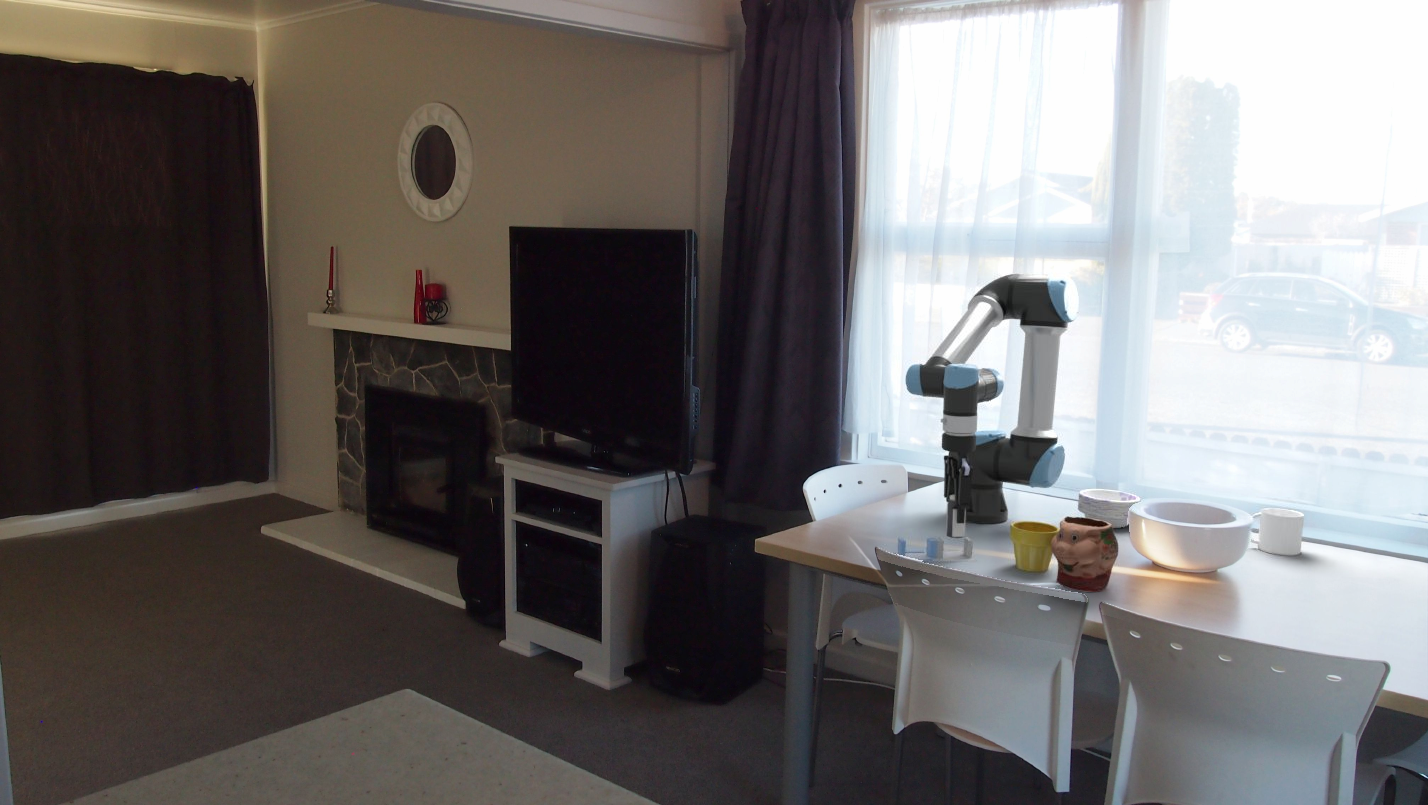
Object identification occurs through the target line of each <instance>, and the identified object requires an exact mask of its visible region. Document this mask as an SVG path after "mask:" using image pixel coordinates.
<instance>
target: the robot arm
mask: <svg viewBox="0 0 1428 805" xmlns="http://www.w3.org/2000/svg"><path fill="white" fill-rule="evenodd" d="M1078 313H1079V293H1078V291H1077V287H1076V284H1075V282H1074V281H1073V279H1071V277H1069V276H1067V275H1061V274H1060V275H1059V274H1053V273H1052V274H1033V273H1032V274H1029V273H1028V274H1026V273H1025V274H1024V273H1022V274H1019V273H1013V274H1012V273H1011V274H1006V275H1003V276H1000V277H997V279H996V278H995V279H994V280H992V281H991V282H988V284H986V285H985V286H983V287H982V288H981V289H980V290H978V291H977V292H976V293H975V294H974V295H973V296H972V297H971V299H970V300H969V302H968V304H967V311H966V312H965V313H964V314H963V316H962V317H961V318H960V319H959V321H958V322H957V323H955V324H956V325H954V327H953V328H952V329H951V331H950V332H949V333H948V335H947V336H946V337H945V338H944V340H943V341H942V342H941V343H940V345H938V347H937V348H936V350H935V351H934V352H933V353H932V355H930V357H929V358H928V360H927V361H926V362H925V363H924V364H922V363H919V364H912V365H911V366H909V368H908V369H907V371H906V374H905V385H906V390H907V392H909V393H910V394H912V395H914V396H919V397H923V398H924V397H925V398H926V397H927V398H938V399H943V410H942V418H941V419H940V422H941V423H942V431H943V433H942V434H941V449H942V450H944V451H947V452H948V455H944V456H943V462H944V463H943V464H944V473H943V474H944V478H943V482H944V483H943V497H944V498H945V500H946V516H947V515H948V499H949V498H950V495H955V506H952V509H953V526H952V536H953V537H962V538H964V537H965V536H966V522H968V523H977V524H998V523H999V524H1000V523H1004V522H1007V520H1008V519H1009V508H1008V506H1007V502H1006V499H1005V498H1006V497H1005V495H1004V491H1003V490H1004V489H1003V486H1004V484H1006V483H1007V484H1014V485H1021V486H1026V487H1030V488H1040V489H1049V488H1051V487H1052V486H1053V485H1055V484H1056V482H1057V481H1058V480H1059V478H1060V477H1061V476H1060V475H1061V473H1062V471H1063V468H1064V464H1065V459H1066V453H1065V448H1064V446H1063V445H1062V444H1061V443H1058V435H1057V433H1056V432H1055V431H1054V429H1053V424H1054V423H1053V422H1054V412H1055V401H1056V390H1057V389H1056V388H1057V379H1058V369H1059V368H1058V367H1059V357H1060V346H1061V336H1062V335H1063V333H1065V332H1066V331H1068V328H1069V327H1068V326H1069V323H1072V322H1074V321H1075V320H1076V318H1077V315H1078ZM1005 320H1019V327H1020V329H1021V330H1022V331H1023V332H1024V334H1025V335H1024V344H1023V356H1022V357H1023V358H1022V368H1021V380H1020V390H1019V392H1020V393H1019V402H1018V413H1017V414H1018V415H1017V426H1016V427H1015V428H1014V429H1012V430H1011V431H1010V436H1009V437H1007V434H1006V431H1004V430H978V404H980V403H985V402H986V403H987V402H991V401H992V400H994V399H996V398H998V397H999V396H1001V394H1002V392H1003V390H1004V385H1005V384H1004V383H1005V382H1004V379H1003V376H1002V374H1001V373H1000V372H999V371H998V370H996V369H994V368H989V367H988V368H985V367H981V368H979V367H978V366H977V365H976V364H970V363H966V362H967V361H968V360H969V358H970V357H971V356H972V355H973V354H974V352H975V350H977V348H978V346H980V344H981V343H982V341H983V340H984V339H985V337H986V336H987V335H988V334H989V333H990V331H991V330H992V328H996V327H997V326H1000V324H1001V323H1002V322H1003V321H1005ZM945 528H946V529H945V531H946V532H947V519H946V526H945Z"/></svg>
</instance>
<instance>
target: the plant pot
mask: <svg viewBox="0 0 1428 805" xmlns="http://www.w3.org/2000/svg"><path fill="white" fill-rule="evenodd" d="M1059 530H1060V527H1058V526H1056V525H1053V524H1050V523H1047V522H1042V521H1041V522H1040V521H1035V520H1020V521H1013V522H1012V523H1011V524H1010V529H1009V539H1010V541H1012V545H1013V546H1012V547H1013V552H1014V559H1015V567H1016V568H1017V569H1020V570H1023V571H1027V572H1034V573H1035V572H1037V573H1039V572H1047V571H1048V570H1049V567H1050V564H1051V561H1052V558H1053V557H1052V556H1053V555H1054V554H1053V553H1052V550H1051V542H1052V539H1053V538H1054V537H1055V536H1056V535H1057V534H1058V532H1059Z"/></svg>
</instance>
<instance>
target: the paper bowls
mask: <svg viewBox="0 0 1428 805" xmlns="http://www.w3.org/2000/svg"><path fill="white" fill-rule="evenodd" d="M1077 500H1078V501H1077V510H1078V511H1079V512H1080V513H1083V514H1084V518H1093V519H1097V520H1102V521H1106V522H1108V523H1110V524H1111V525H1112V527H1113V529H1121V527H1123V528H1126V527H1127V518H1128V511H1129V508H1130V507H1131V506H1132V505H1133V504H1135V503H1138V502H1141V501H1142V500H1141V498H1140V497H1139V496H1138V495H1135V494H1132V493H1129V492H1125V491H1120V490H1113V489H1104V488H1103V489H1102V488H1090V489H1089V488H1088V489H1083V490H1080V491H1079V492H1078V499H1077ZM1125 526H1126V527H1125Z"/></svg>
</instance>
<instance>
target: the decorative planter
mask: <svg viewBox="0 0 1428 805" xmlns="http://www.w3.org/2000/svg"><path fill="white" fill-rule="evenodd" d="M1051 550H1052V553H1053V554H1052V555H1053V556H1054V557H1055V559H1056V561H1057V576H1056V582H1057V584H1059V585H1060V586H1062V587H1065V588H1068V589H1069V590H1070V589H1071V590H1074V591H1080V592H1086V593H1097V592H1101V591H1104V590H1105V589H1107V586H1109V585H1108V584H1109V582H1110V579H1111V575H1112V570H1113V567H1114V565H1115V562H1116V561H1117V558H1118V555H1119V542H1118V539H1117V537H1116V534H1115V532H1114V528H1113V527H1112V525H1111V524H1110V523H1108V522H1106V521H1102V520H1097V519H1093V518H1086V517H1081V516H1066V517H1064V518H1063V519H1062V520H1060V522H1059V532H1058V534H1057V535H1056V536H1055V537H1054V538H1053V539H1052V542H1051Z"/></svg>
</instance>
